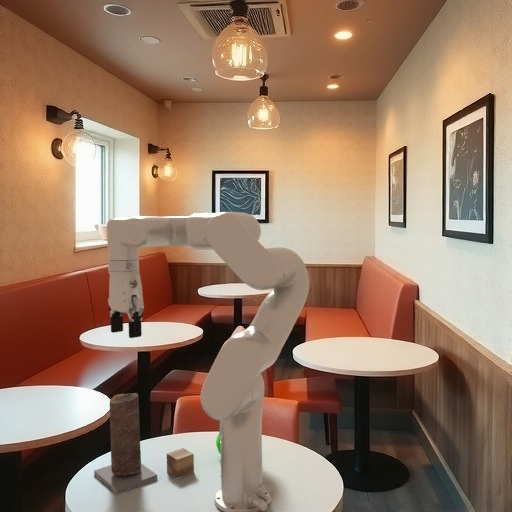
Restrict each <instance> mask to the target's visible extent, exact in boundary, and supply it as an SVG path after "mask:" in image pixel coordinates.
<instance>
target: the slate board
mask: <svg viewBox="0 0 512 512" xmlns="http://www.w3.org/2000/svg"><path fill="white" fill-rule="evenodd" d="M93 474H94V476H95V477H96V478H97V477H98V478H99V479H100V481H101V482H102V483H103V484H104V485H105V486H106V487H107V488H108V489H110V490H111V491H112V492H114V493H115V494H116V495H118V494H121V493H123V492H126V491H129V490H131V489H134V488H137V487H140V486H142V485H145V484H148V483H151V482H153V481H154V482H155V481H157V480H158V474H157V473H156V472H154V471H153V470H151V469H150V468H149V467H147V466H145V465H144V464H142V463H141V470H140V471H139V472H138V473H134V474H129V475H124V476H123V475H118V474H113V473H112V471H111V464H110V465H108V466H103V467H100V468H97V469H95V470H93ZM98 478H97V479H98Z"/></svg>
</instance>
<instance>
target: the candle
mask: <svg viewBox="0 0 512 512" xmlns="http://www.w3.org/2000/svg"><path fill="white" fill-rule="evenodd" d="M139 404H140V403H139V394H138V393H137V392H135V393H130V392H129V393H120V394H119V393H118V394H114V396H113V397H112V398H111V399H110V400H109V423H110V424H109V427H110V463H111V464H110V465H111V471H112V473H113V474H118V475H123V476H124V475H129V474H134V473H138V472H139V471H140V470H141V464H142V452H141V451H142V450H141V434H140V432H141V431H140V426H141V425H140V409H139V408H140V405H139Z"/></svg>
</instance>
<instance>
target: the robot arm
mask: <svg viewBox="0 0 512 512" xmlns="http://www.w3.org/2000/svg"><path fill="white" fill-rule="evenodd" d="M261 229H262V228H261V225H260V223H259V221H258V219H257V218H256V217H255V216H253V215H252V214H250V213H247V212H240V211H239V212H237V211H222V212H211V213H210V212H201V213H200V212H196V213H193V214H191V215H189V216H188V215H187V216H157V215H155V216H154V215H153V216H152V215H151V216H149V215H147V216H146V215H144V216H143V215H142V216H141V215H138V216H134V217H133V216H132V217H116V218H110V219H108V220H107V223H106V237H107V263H108V265H107V266H108V267H107V269H108V274H109V284H108V285H109V286H108V294H109V295H108V298H107V303H108V310H109V317H110V332H111V333H113V334H115V333H119V332H121V333H122V332H123V331H124V316H123V315H122V314H127V316H128V319H129V321H128V322H127V323H128V338H130V339H134V338H139V337H140V338H141V337H142V334H143V333H142V321H143V317H144V316H143V315H144V309H145V304H144V296H143V293H144V292H143V285H142V279H141V274H140V256H139V252H140V251H139V250H140V249H139V248H149V247H150V248H153V247H190V248H192V249H193V250H198V251H204V250H205V251H214V252H215V253H216V254H217V256H218V257H219V258H220V259H221V260H222V261H223V262H224V263H225V264H226V266H228V267H229V268H230V269H231V271H233V273H234V274H236V276H237V277H238V278H239V279H240V281H242V282H243V283H244V284H246V285H247V286H248V287H250V288H251V289H254V290H257V291H267V290H269V292H268V294H267V296H266V297H265V298H264V300H263V301H262V302H261V304H260V305H259V308H258V310H257V312H256V314H255V316H254V318H253V320H252V321H251V323H250V324H249V326H247V328H245V329H244V330H242V331H240V332H238V333H237V332H236V334H234V335H232V336H230V337H229V338H228V339H227V340H226V341H225V342H224V343H223V345H222V346H221V348H220V349H219V352H218V354H217V356H216V358H215V359H214V362H213V363H212V365H211V366H210V370H209V372H208V374H207V375H206V377H205V380H204V382H203V385H202V386H201V390H200V404H201V407H202V410H203V411H204V413H205V414H206V415H207V416H208V417H209V418H211V419H212V420H215V421H219V420H221V424H220V445H221V454H220V484H221V488H220V489H219V490H218V491H217V492H216V493H215V495H214V503H215V506H216V508H217V509H219V510H220V511H222V512H260V511H262V512H264V511H266V510H267V508H268V505H269V504H271V502H272V497H271V496H270V493H269V491H268V490H267V489H266V485H265V484H263V483H264V482H263V480H264V479H263V430H262V429H263V427H262V426H263V423H262V421H263V409H264V407H263V406H264V400H265V380H264V378H263V374H262V373H263V372H264V371H265V370H267V369H269V368H270V367H271V366H273V364H275V362H276V361H277V360H278V358H279V356H280V354H281V352H282V349H283V347H284V345H285V343H286V341H287V340H288V338H289V336H290V334H291V332H292V331H293V328H294V326H295V324H296V323H297V320H298V318H299V317H300V315H301V313H302V311H303V308H304V307H305V304H306V302H307V299H308V295H309V290H310V277H309V276H310V275H309V272H308V269H307V266H306V264H305V262H304V261H303V259H302V258H301V256H300V255H299V254H297V253H296V251H294V250H292V249H290V248H287V247H286V248H285V247H279V246H278V247H270V248H266V247H264V246H263V245H262V244H261V242H259V240H260V237H261V235H262V234H261V233H262V231H261Z"/></svg>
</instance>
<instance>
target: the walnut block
mask: <svg viewBox="0 0 512 512" xmlns="http://www.w3.org/2000/svg"><path fill="white" fill-rule="evenodd" d="M194 460H195V458H194V453H193V452H191V451H189V450H187V449H186V448H184V447H182V448H179V449H176V450H173V451H170V452H167V453H166V472H167V473H168V474H170V475H171V476H172V477H174V478H175V479H181V478H183V477H186V476H189V475H191V474H194V473H195V461H194Z"/></svg>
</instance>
